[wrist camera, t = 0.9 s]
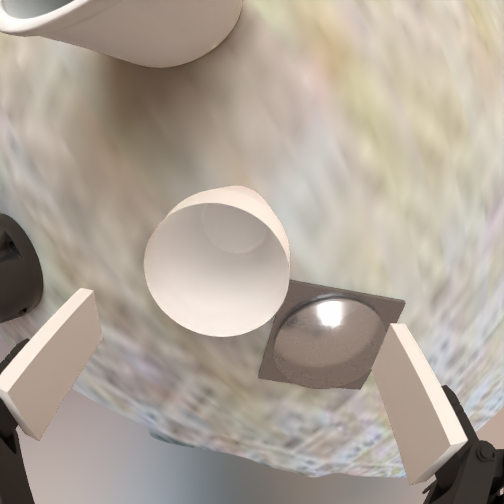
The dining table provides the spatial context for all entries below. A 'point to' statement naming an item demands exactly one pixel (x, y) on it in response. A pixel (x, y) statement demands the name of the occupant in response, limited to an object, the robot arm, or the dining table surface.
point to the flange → (327, 336)
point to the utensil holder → (127, 26)
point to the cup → (219, 262)
